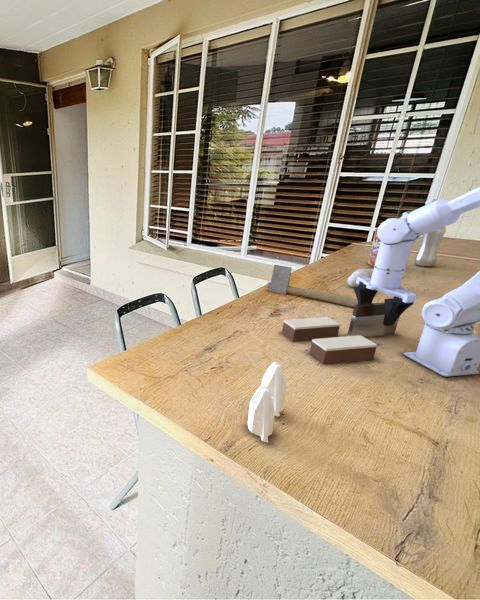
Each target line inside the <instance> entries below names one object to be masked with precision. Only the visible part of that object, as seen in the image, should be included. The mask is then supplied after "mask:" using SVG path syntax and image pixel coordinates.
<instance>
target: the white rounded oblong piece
mask: <svg viewBox="0 0 480 600" xmlns="http://www.w3.org/2000/svg"><path fill="white" fill-rule="evenodd" d="M373 270H374V268H357V269H355V270H354V271H353V273H351V274H350V276H348V278H347V280H346V281H347V282H346V283H347V285H348V286H350V287H351V288H354V287H356V286H358V285H359V284H356V280H357V277H361V276H365V277H368V278H371V277H372V273H373Z"/></svg>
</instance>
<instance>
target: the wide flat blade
mask: <svg viewBox="0 0 480 600" xmlns="http://www.w3.org/2000/svg"><path fill="white" fill-rule="evenodd" d="M384 316H385V301H384V302H372V303H370V304H357V305H355V306H354V307H353V310H352V314H351V318H350V323H349V326H348V331H347V334H346V336H357V335H361V336H363V337H364V338H368V337H381V336H392V335H395V334H396V331H397V327H398V324H399V321H400V317H401V316H400V317H399V318H398V319H397V321H396V322H395V323H394V325H391V326H385V325H383V321H384Z"/></svg>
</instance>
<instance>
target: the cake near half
mask: <svg viewBox="0 0 480 600" xmlns="http://www.w3.org/2000/svg"><path fill="white" fill-rule="evenodd" d="M377 347H378V344H377V343H375V342H373V341H372V340H369V339H368V338H367V337H363V336H361V335H357V336H347V335H345V336H337V337H333V338H321V339H312V340H311V344H310V349H309V355H311V356H312V357H313V358H315V359H316V361H319V362H320V363H322V364H323V365H325V364H326V365H327V364H328V365H329V364H339V363H350V362H361V361H362V362H363V361H373V360H374V358H375V354H376V350H377Z"/></svg>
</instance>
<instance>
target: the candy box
mask: <svg viewBox="0 0 480 600" xmlns="http://www.w3.org/2000/svg"><path fill="white" fill-rule="evenodd" d="M378 228H379V227H375V231H374V235H373V239H372V244H371V248H370V253H369V258H368V261H367V263H368V265H370V266H371V267H372V268H374V266H375V262H376V258H377V254H378V250H379V246H380V243H381V240H380V239H379V238H378V235H377V231H378Z"/></svg>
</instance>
